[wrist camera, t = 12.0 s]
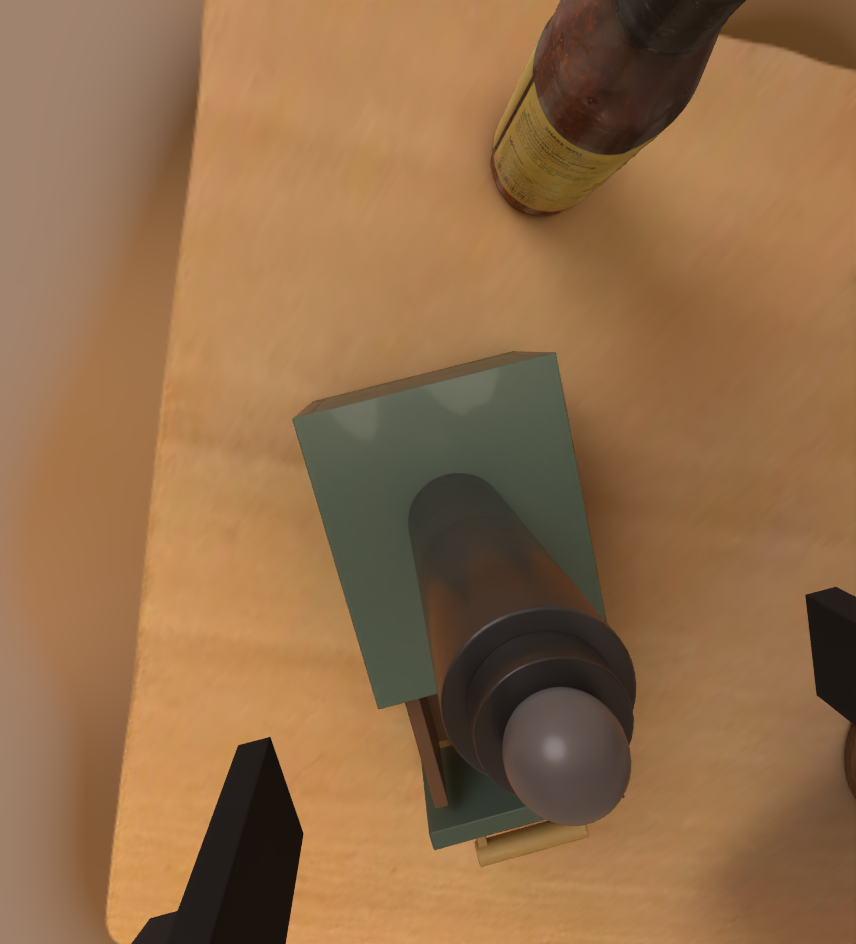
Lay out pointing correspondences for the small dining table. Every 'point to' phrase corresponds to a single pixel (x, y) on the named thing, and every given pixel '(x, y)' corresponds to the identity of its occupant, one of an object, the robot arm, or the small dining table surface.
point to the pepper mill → (520, 656)
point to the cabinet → (424, 459)
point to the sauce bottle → (599, 94)
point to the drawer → (474, 799)
